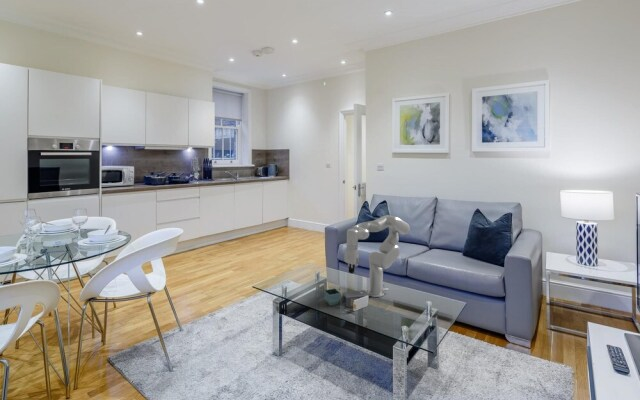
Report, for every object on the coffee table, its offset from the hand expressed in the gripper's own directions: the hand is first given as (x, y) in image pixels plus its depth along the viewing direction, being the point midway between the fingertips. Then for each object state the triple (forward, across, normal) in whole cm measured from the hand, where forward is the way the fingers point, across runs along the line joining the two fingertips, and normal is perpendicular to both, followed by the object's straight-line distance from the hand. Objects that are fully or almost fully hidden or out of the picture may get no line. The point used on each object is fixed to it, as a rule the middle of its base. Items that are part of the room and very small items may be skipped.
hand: (351, 272), depth 241 cm
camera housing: (+21, +4, 0) cm, 22 cm away
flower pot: (+21, -5, -13) cm, 26 cm away
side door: (+21, +13, -2) cm, 24 cm away
